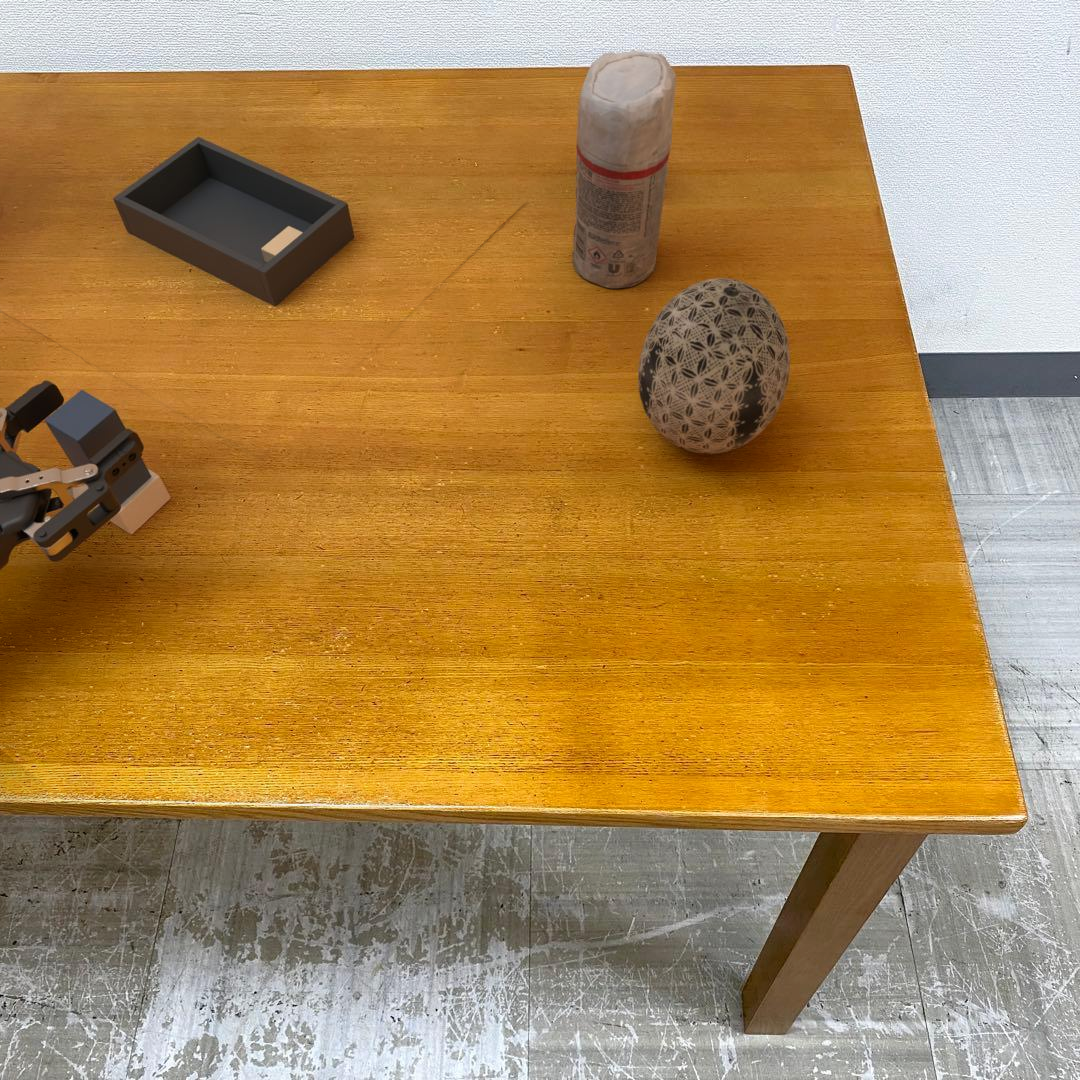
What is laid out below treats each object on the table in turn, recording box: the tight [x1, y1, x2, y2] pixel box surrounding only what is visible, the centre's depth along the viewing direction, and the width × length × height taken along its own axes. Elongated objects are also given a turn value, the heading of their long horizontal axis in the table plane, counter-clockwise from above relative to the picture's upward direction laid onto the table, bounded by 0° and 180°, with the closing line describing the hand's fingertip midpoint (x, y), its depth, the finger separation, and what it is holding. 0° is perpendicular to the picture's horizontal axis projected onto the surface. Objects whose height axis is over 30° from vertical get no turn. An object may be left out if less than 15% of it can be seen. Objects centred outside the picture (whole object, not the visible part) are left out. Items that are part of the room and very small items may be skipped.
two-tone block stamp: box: [44, 389, 172, 535], centre depth 78 cm, size 4×4×11 cm
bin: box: [112, 136, 355, 307], centre depth 99 cm, size 20×12×5 cm, turn 56°
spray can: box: [571, 49, 677, 289], centre depth 89 cm, size 8×8×20 cm
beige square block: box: [261, 226, 303, 262], centre depth 97 cm, size 4×4×2 cm
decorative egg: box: [637, 277, 791, 455], centre depth 80 cm, size 12×12×15 cm
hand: (96, 413), depth 75 cm, fingers open, 8 cm apart
